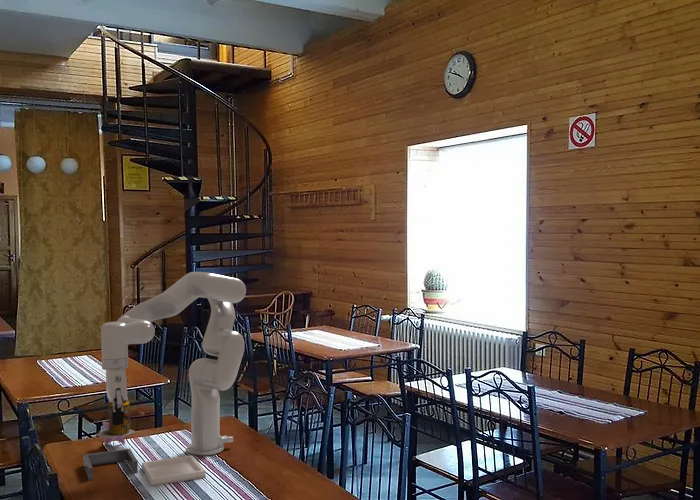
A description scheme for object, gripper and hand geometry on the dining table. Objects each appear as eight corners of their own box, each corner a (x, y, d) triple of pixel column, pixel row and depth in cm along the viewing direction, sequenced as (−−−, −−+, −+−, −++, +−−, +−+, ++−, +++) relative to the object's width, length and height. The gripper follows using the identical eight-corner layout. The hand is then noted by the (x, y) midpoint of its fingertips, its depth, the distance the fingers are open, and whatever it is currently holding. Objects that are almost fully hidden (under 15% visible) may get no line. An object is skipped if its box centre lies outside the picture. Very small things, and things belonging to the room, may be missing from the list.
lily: (139, 449, 235) (138, 422, 239) (120, 445, 225) (118, 417, 229) (109, 457, 237) (108, 430, 241) (89, 454, 227) (88, 425, 231)
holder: (129, 458, 222) (129, 448, 222) (137, 472, 210) (137, 461, 210) (83, 465, 215) (83, 454, 215) (88, 479, 203) (88, 468, 203)
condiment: (133, 433, 204) (133, 394, 203) (104, 438, 199) (104, 398, 198) (127, 427, 210) (126, 389, 209) (99, 432, 205) (98, 393, 204)
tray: (192, 461, 220) (192, 455, 220) (205, 477, 206) (205, 470, 206) (142, 468, 213) (142, 462, 213) (152, 486, 199) (152, 479, 199)
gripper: (133, 367, 197) (134, 427, 198) (123, 356, 213) (124, 412, 213) (106, 369, 194) (107, 431, 195) (98, 359, 209) (99, 416, 210)
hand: (116, 421), depth 204 cm, fingers closed on condiment, 6 cm apart
